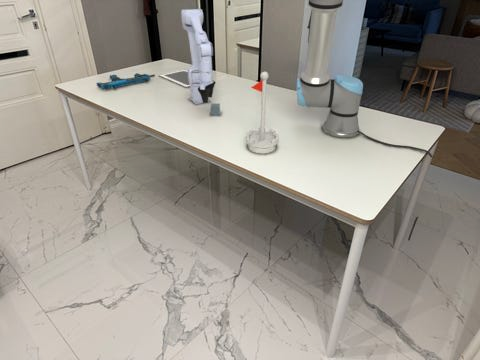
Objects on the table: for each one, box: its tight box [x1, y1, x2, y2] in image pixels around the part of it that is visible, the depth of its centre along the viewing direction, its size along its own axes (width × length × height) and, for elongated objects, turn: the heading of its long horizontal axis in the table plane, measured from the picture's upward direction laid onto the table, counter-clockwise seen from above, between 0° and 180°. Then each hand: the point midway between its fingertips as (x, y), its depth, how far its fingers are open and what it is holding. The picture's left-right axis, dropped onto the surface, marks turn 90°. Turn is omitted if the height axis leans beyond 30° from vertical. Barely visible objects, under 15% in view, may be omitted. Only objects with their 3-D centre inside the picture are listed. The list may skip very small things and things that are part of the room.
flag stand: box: [245, 71, 280, 154], centre depth 128 cm, size 13×13×30 cm
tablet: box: [158, 69, 191, 88], centre depth 216 cm, size 32×20×1 cm, turn 41°
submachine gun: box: [95, 72, 156, 91], centre depth 209 cm, size 34×4×25 cm
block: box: [210, 102, 221, 117], centre depth 165 cm, size 4×4×5 cm
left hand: (207, 99), depth 163 cm, fingers open, 7 cm apart
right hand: (314, 40), depth 169 cm, fingers open, 13 cm apart
